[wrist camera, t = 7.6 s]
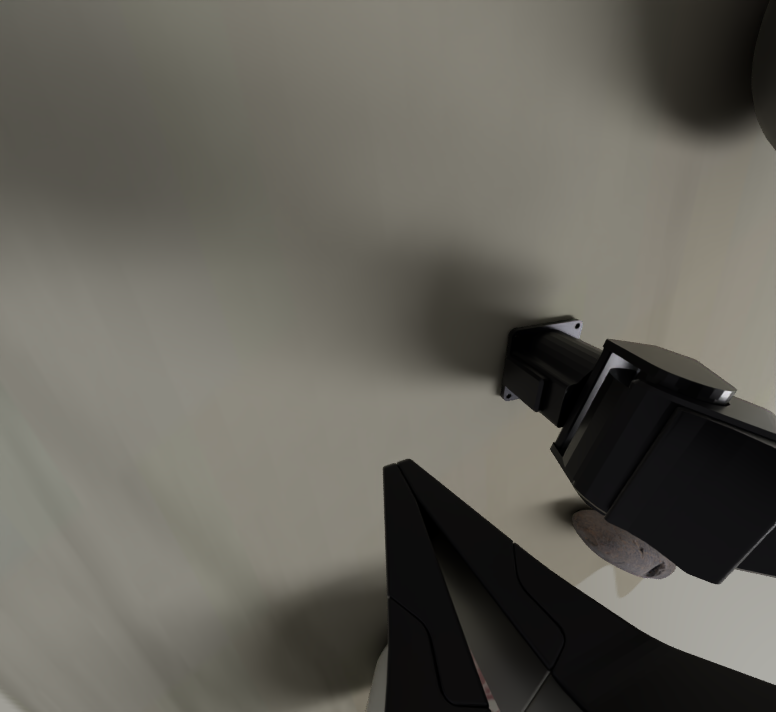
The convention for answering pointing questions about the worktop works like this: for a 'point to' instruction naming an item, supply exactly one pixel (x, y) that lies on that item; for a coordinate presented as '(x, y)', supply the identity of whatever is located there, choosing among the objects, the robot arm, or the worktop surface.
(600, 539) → the perforated stone tool
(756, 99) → the coal bowl
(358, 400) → the worktop surface
